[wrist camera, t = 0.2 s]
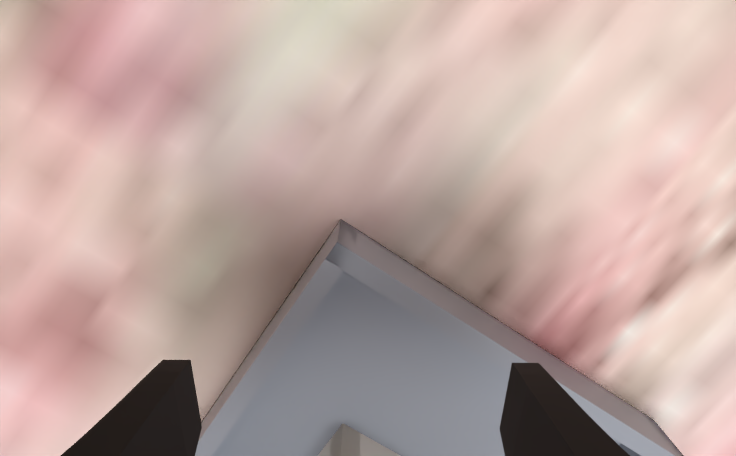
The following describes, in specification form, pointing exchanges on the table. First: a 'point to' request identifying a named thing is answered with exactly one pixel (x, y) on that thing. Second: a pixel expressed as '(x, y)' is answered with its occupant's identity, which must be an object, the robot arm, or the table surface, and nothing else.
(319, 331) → the tray
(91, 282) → the table surface
